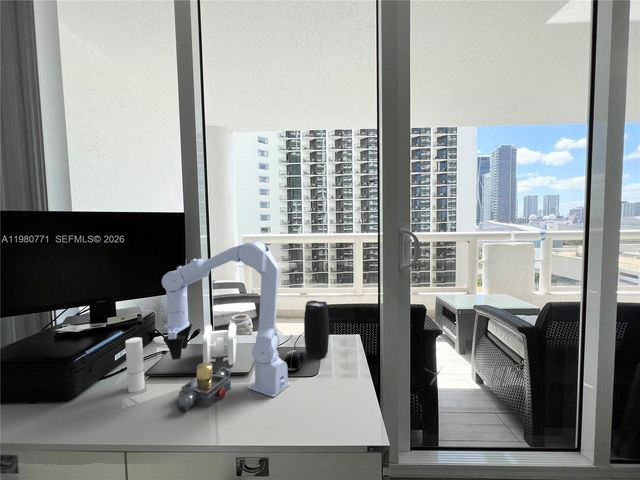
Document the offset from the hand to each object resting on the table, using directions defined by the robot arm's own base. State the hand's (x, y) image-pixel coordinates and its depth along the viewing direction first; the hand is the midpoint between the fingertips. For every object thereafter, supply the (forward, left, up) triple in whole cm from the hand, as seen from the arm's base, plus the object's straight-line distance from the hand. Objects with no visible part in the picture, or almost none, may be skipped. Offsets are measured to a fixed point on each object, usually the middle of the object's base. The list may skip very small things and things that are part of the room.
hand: (179, 353), depth 97 cm
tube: (+10, +8, -10) cm, 16 cm away
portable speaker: (-26, -38, -10) cm, 47 cm away
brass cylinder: (-11, 0, -7) cm, 13 cm away
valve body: (-11, 0, -10) cm, 15 cm away
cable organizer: (+2, -18, -10) cm, 21 cm away
